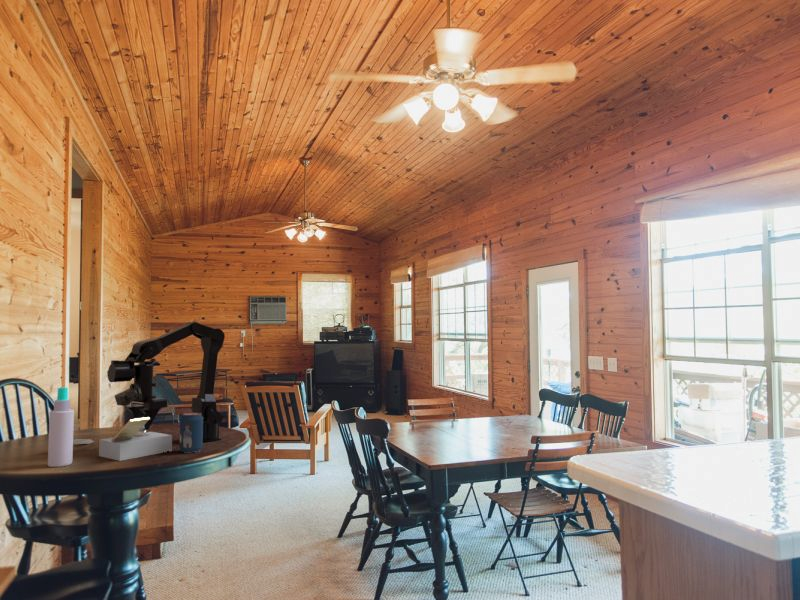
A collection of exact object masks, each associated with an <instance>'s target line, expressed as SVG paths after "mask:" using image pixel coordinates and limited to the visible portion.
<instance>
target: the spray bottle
mask: <svg viewBox="0 0 800 600" xmlns="http://www.w3.org/2000/svg"><path fill="white" fill-rule="evenodd" d="M68 391H69V388H68V387H58V388H57V396H56V397H57V399H56V400H55V399H54V405H53V406H54V407H53V410H51V411H49V420H48V421H49V422H48V423H49V424H48V446H47V447H48V449H47V450H48V452H47V466H48V467H50V468H63V467H68V466H69V465H70V466H71V464H73V453H74V451H73V450H74V444H73V439H74V429H75V427H74V426H75V425H74V424H75V423H74V422H75V410H74V409H71V399H68V398H69V392H68Z"/></svg>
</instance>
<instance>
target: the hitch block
mask: <svg viewBox="0 0 800 600" xmlns="http://www.w3.org/2000/svg"><path fill="white" fill-rule="evenodd" d="M114 437H115V436H114ZM114 437H107V438H101V439H99V441H98V446H99V447H98V457H102V458H106V459H111V460H114V461H119V462H120V461H126V460H132V459H137V458H142V457H147V456H152V455H157V454H162V453H163V452H164V453H167V451H169V452H172V449H173V434H167V433H160V432H155V431H147V432H146V436H142V437H138V433H136V434H135V435H134V436H133V437H130V438H124V439H117V440H114V439H113V438H114ZM164 453H163V454H164Z"/></svg>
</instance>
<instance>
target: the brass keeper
mask: <svg viewBox="0 0 800 600" xmlns="http://www.w3.org/2000/svg"><path fill="white" fill-rule="evenodd" d="M149 419H150V417H146V418H138V419H133V418H132V419H131V418H130V419H129V420H128V421H127V423H125V424H124V426H123V427H122V428H121V429H120V430H119V431H118V433H116V434H115V436H114V438H113V437H112V438H113V439H114V440H117V439H124V438H130V437H133V436H134V435H135V434H138V431H139V430H140V429H141V428H142V427H143V426H144V425H145V424H146V423H147V422H148V420H149Z"/></svg>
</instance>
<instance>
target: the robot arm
mask: <svg viewBox="0 0 800 600" xmlns="http://www.w3.org/2000/svg"><path fill="white" fill-rule="evenodd" d="M225 335H226V334H225V332H224V331H223V330H222V329H221V328H213V327H210V326H208V325H204V324H202V323H199V322H197V321H192V322H191V321H190V322H186V324H184V325H180V326H179V327H177V328H175V329H173V330H171V331H169V332H166V333H164V334H162V335H159V336H158V337H154V338H149V339H144V340H140V341H137V342H135V343H134V344H133V345H132V348H131V351H130V353H129V354H128V355H127V357H125V359H124V360H118V359H117V360H116V359H114V360H113V359H112V360H111V361H110V365H109V366H108V370H107V371H106V373H107V375H106V376H107V379H108V381H109V382H110V383H122V382H130V381H132V379H133V383H130V384H129V388H128V389H125V390H124V391H121V392H119V393H117V394H115V395H114V399H115V402H116V405H117V406H122V407H123V406H124V409H127V411H129V412H130V414H131V417H132V419H134V418H138V417H144V418H146V417H150V419H149V420H148V422H147V423H146V424H145V425H144V426H145V430H147V431H149V429H151V427H152V424H153V422H154V420H155V418H156V417H157V415H158V414H159V411H160V410H162V408H163V409H164V408H168V403H169V402H168V400H167V399H166V398H164V397H163V398H162V397H156V396H157V395H154V387H156V385H157V383H156V382H154V367H158V366H160V365H161V363H160V362H159V361H157V359H156V358H155V357H157V356H158V355H160V353H162V352H163V350H164V349H166V348H168V347H170V346H172V345H174V344H175V343H178V342H180V341H182V340H184V339H187V338H189V337H190V336H193V337H194V338H197V339H199V340H200V346H201V349H202V351H203V356H202V357H203V358H202V365H201V375H200V384H199V393H198V394H197V395H196V397H192V398H191V407H190V409H191V412H198V413H201V415H202V417H203V442H205V443H209V442H212V441H214V442H215V441H220V440H223V439H222V438H223V437H220V424H221V423H222V422H223V420H224V416H223V415H222V414H221V413H220V412H219V411H218V409H217V401H216V397H215V394H214V391H215V383H216V375H217V364H218V355H219V352H220V351H221V349H222V348H223V346H224V342H225V339H226V338H225V337H226V336H225ZM150 426H151V427H150Z"/></svg>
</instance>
